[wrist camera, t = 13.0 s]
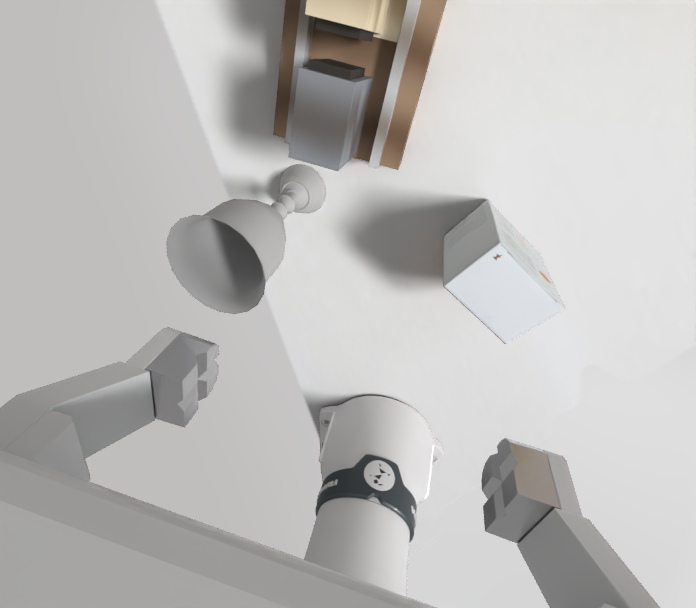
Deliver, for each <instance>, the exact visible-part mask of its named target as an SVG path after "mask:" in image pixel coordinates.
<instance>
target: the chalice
mask: <svg viewBox="0 0 696 608" xmlns="http://www.w3.org/2000/svg"><path fill="white" fill-rule="evenodd" d="M279 192H280V197H279V198H278V200H277V202H275V203H273V204H272V205H271V206H270V205H268V204H265V203H262V202H259V201H256V200H241V199H233V200H230V201H227V202H223V203H222V204H220V205H219V206H217V207H215V208H214V209H213V210H211V211H209V212H208V213H206V214H205V215H203V216H200V215H192V216H189V217H186V218H183V219H180V220H179V221H178V222H177V223H176V224H175V225H174V226H173V227H172V228H171V229H170V232H169V235H168V238H167V256H168V259H169V262H170V265H171V268H172V271H173V272H174V274H175V275H176V277H177V279H178V280H179V282H180V284H181V285H182V286H183V287H184V288H185V289H186V290H187V291H188V292H189V293H190V294H191V295H192V296H193V297H194V298H195V299H197V300H198V301H200V302H201V303H202V304H204V305H205V306H207V307H210V308H212V309H215V310H217V311H219V312H224V313H231V314H237V313H242V312H247V311H249V310H250V309H252V308H254V307H255V306H257V305H258V303H259V301H260V300H261V298H262V296H263V295H264V289H265V283H266V281H267V280H268V279H269V278H270V276H271V275H272V274H273V273H274V272H275V270H276V269H277V268H278V266H279V265H280V263H281V261H282V260H283V255H284V249H285V241H286V235H285V229H284V223H283V219H285V218H286V216H287V214H290V213H292V212H293V211H294V212H298V213H311V212H315V211H316V210H318V209H319V208H320V207H321V206H322V204H323V203H324V200H325V196H326V188H325V184H324V181H323V179H322V178H321V176H320V175H319V173H318V172H316V171H315V170H314V169H313V168H311V167H309V166H306V165H294V166H291V167H289V168H288V169H286V170H285V171H284V173H283V174H282V176H281V179H280V191H279Z"/></svg>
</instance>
